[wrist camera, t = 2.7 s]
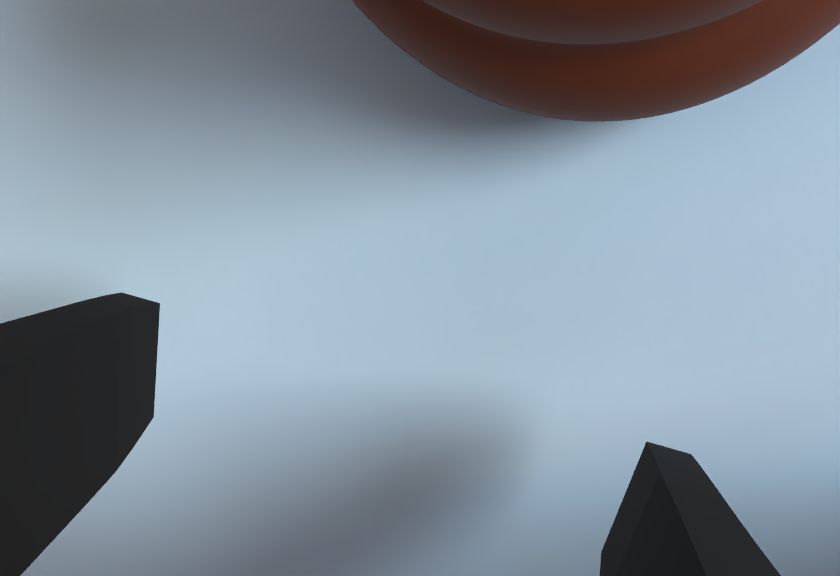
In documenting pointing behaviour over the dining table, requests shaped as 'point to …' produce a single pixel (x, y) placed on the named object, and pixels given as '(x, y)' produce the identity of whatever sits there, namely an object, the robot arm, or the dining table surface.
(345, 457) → the dining table surface
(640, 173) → the dining table surface
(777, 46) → the poop emoji
